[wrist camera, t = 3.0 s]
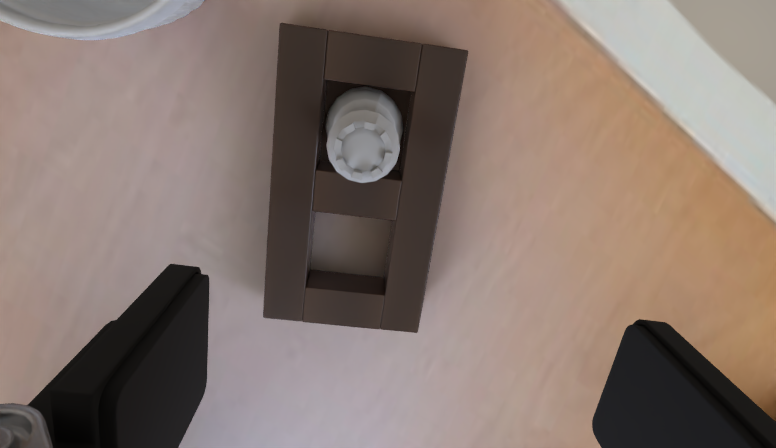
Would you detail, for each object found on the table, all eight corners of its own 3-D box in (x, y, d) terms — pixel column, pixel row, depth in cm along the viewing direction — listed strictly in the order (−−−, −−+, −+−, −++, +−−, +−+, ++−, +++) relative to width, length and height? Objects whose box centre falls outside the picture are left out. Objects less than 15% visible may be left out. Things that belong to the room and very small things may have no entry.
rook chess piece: (345, 72, 27) (336, 78, 19) (415, 107, 28) (433, 126, 20) (314, 143, 28) (294, 175, 20) (382, 175, 29) (387, 217, 21)
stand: (270, 298, 31) (262, 318, 29) (287, 25, 26) (279, 22, 23) (414, 313, 32) (417, 333, 30) (459, 51, 27) (468, 50, 24)
